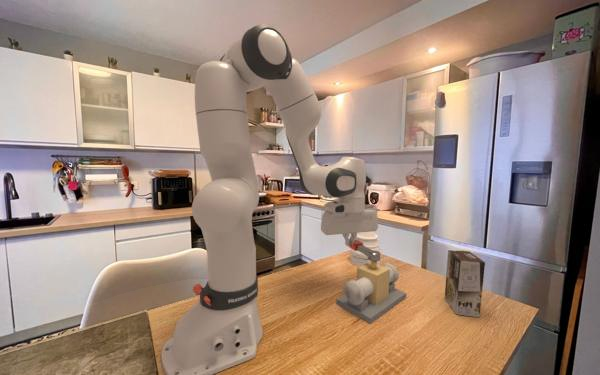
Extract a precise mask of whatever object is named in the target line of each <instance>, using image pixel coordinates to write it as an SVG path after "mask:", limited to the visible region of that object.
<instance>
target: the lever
mask: <svg viewBox="0 0 600 375" xmlns="http://www.w3.org/2000/svg"><path fill="white" fill-rule="evenodd" d="M348 248H349V249H350V250H351V249H353V250H354V251H360V252H361V253H363V254H364V255H366V256H368V259H369V260H371V261H380V252H378V251H374V250H371V249H369V248H367V247H366V246H364V245H363V243H362V242H360V241H358V240H354V245H353V246H348Z"/></svg>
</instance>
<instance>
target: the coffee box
mask: <svg viewBox="0 0 600 375" xmlns="http://www.w3.org/2000/svg"><path fill="white" fill-rule="evenodd" d="M446 261H447V262H446V274H445V275H446V276H445V287H444V289H445V290H444V299H445V301H446V302H447V304H448V305H449V306H450V308H451V309H452V311H453V312H454V313H455V314H456V315H458V316H459V315H460V316H468V317H472V318H473V317H475V318H480V315H481V307H482V306H481V305H482V296H483V285H484V278H485V276H484V275H485V267H486V262H485V261H484V260H482V259H481V258H479V257H478V256H477V255H475V254H474V253H472V252H471V251H467V250H449V249H448V250H447V260H446Z"/></svg>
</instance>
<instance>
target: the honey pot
mask: <svg viewBox="0 0 600 375" xmlns="http://www.w3.org/2000/svg"><path fill="white" fill-rule="evenodd" d="M375 232H376V231H373V232H360V233H357V237H356V238H355V240H358V241H360V242H362V243H363V245H364V246H366V247H367V248H369V249H371V250H374V251H378V252H380V261H377V264H378V265H380V266H382V265H381V263H382V250H381V247H380V242H379V241H378V238H379V235H378V234H376V233H375ZM349 258H350V260H349V261H350V263H351V264H353V265H354V266H356V267H359V266H362V265H364V264H366V263H368V262H371V260H369V259H368V256H366V255H364V254H363V253H361V252H360V251H354V250H353V249H351V248H350V257H349Z"/></svg>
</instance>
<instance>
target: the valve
mask: <svg viewBox="0 0 600 375" xmlns="http://www.w3.org/2000/svg"><path fill="white" fill-rule="evenodd" d="M356 267H357V268H356V280H355V279H352V280H349V281H347V282H346V283H345V284H344V286H343V292H344V294H342V295H341V296H339V297H337V298H336V299H335V304H336V305H338V306H340V307H341V308H342V309H345V310H346V311H348V312H349V313H351V314H353V315H354V316H356V317H358V318H360V319H361V320H362V321H364V322H366V323H368V324H370V325H371V324H372V323H373V322H375V321H376V320H378V319H379V318H380V317H381V316H383V315H384V314H386V313H387V312H388V311H390V310H391V309H392V308H394V307H395V306H397V305H398V304H400V303H401V302H402V301H403V300H405V299H406V298H407V293H406V292H404V291H403V290H400V289H397V288H395V287H396V284H395V283H396V282H397V281H399V278H400V277H399V276H400V275H399V274H400V273H399V271H398V269H397V268H396V266H394V265H393V264H392V263H388V262H387V263H383V264H382V265H378V264H377V261H371V262H368V263H366V264H364V265H362V266H356Z"/></svg>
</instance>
